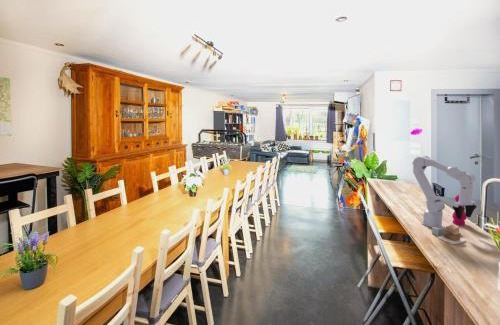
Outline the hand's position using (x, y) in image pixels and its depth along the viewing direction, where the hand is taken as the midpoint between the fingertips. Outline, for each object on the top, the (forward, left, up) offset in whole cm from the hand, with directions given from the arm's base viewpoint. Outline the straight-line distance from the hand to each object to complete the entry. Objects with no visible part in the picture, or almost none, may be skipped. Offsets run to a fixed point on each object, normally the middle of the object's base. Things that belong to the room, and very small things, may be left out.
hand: (463, 217), depth 163 cm
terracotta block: (-2, -5, -10) cm, 11 cm away
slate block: (-4, -13, -10) cm, 17 cm away
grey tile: (+4, -14, -9) cm, 17 cm away
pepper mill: (-12, +14, -10) cm, 21 cm away
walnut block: (+4, -14, -9) cm, 17 cm away
